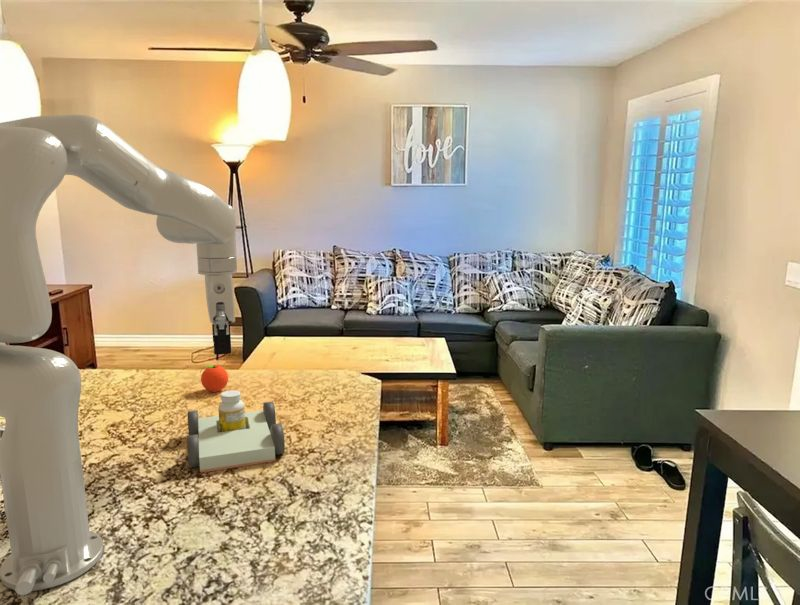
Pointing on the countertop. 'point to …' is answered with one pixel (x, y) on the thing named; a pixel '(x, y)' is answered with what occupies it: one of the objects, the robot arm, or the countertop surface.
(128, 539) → the countertop surface
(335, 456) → the countertop surface
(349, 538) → the countertop surface
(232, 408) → the supplement bottle
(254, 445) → the chassis
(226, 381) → the tomato
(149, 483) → the countertop surface
